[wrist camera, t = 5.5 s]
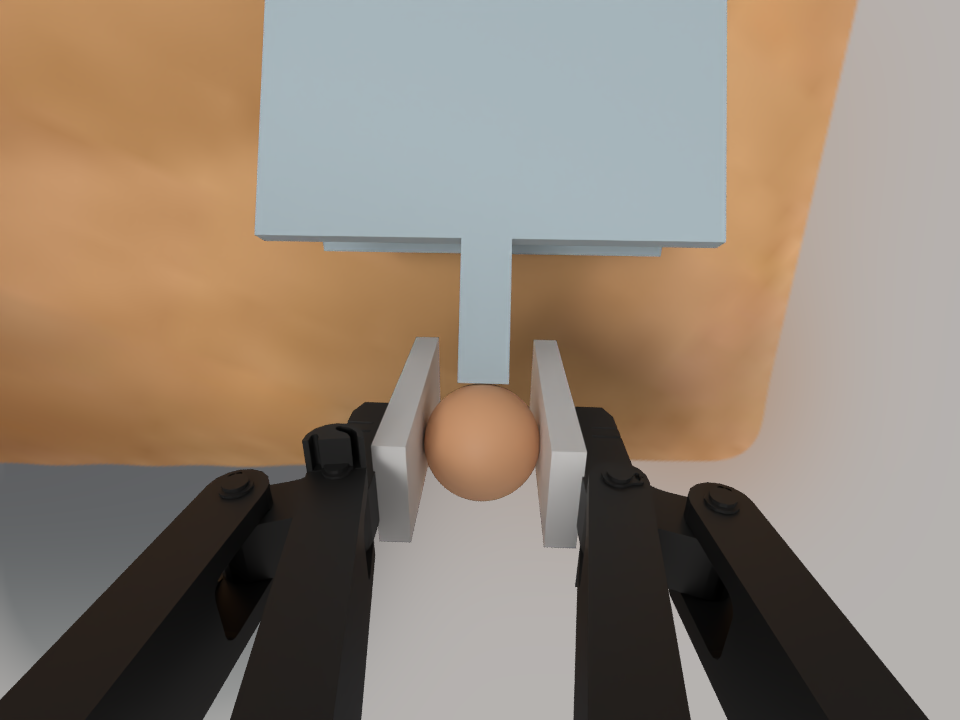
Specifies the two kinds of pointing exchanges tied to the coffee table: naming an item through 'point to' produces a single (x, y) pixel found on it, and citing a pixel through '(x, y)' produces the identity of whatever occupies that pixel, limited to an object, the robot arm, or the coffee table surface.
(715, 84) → the flap
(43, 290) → the coffee table surface
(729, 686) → the robot arm
